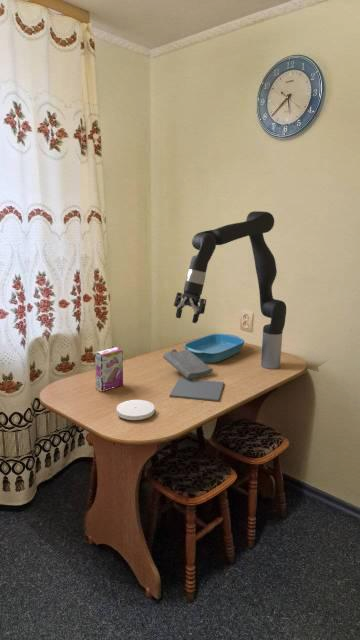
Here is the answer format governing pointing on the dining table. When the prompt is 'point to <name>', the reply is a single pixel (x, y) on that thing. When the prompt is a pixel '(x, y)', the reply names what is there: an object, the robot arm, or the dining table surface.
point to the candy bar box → (109, 368)
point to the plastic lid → (135, 409)
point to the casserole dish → (215, 347)
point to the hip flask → (187, 364)
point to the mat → (197, 389)
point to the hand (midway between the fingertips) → (186, 320)
